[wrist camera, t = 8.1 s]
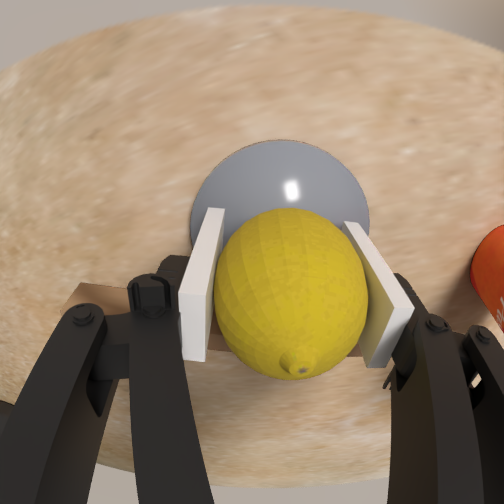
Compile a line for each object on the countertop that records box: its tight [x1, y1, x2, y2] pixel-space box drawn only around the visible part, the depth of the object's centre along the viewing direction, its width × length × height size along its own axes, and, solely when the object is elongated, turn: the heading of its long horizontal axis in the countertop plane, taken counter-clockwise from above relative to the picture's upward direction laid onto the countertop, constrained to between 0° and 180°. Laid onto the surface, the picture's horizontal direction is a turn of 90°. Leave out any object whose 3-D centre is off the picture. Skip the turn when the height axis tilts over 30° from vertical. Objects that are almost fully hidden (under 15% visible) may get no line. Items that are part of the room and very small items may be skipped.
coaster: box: [190, 140, 370, 251], centre depth 16 cm, size 9×9×1 cm
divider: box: [60, 283, 363, 357], centre depth 17 cm, size 18×1×3 cm, turn 84°
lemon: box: [213, 208, 368, 380], centre depth 12 cm, size 6×6×8 cm
